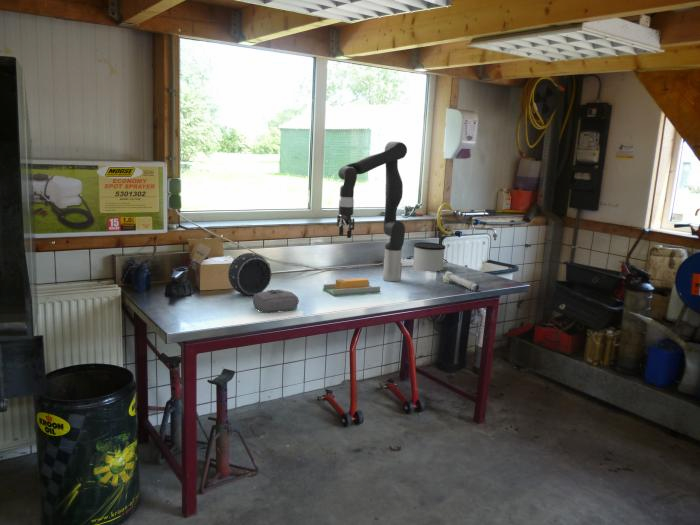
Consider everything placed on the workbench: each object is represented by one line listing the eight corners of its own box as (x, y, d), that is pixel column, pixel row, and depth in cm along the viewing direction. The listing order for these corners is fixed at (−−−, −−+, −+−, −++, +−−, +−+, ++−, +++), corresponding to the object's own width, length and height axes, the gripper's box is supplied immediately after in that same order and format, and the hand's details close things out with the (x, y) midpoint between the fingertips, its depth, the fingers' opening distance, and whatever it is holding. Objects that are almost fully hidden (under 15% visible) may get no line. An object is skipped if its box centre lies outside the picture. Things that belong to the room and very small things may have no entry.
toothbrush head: (473, 285, 313) (442, 269, 332) (471, 296, 315) (440, 280, 334) (481, 284, 316) (449, 268, 335) (478, 295, 318) (447, 279, 337)
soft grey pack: (262, 315, 252) (304, 310, 263) (262, 296, 251) (305, 292, 261) (249, 306, 265) (289, 302, 275) (249, 288, 263) (290, 284, 273)
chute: (362, 287, 307) (363, 277, 306) (368, 289, 301) (369, 280, 300) (335, 289, 299) (335, 279, 298) (340, 291, 294) (341, 282, 293)
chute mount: (367, 286, 312) (368, 281, 312) (380, 292, 301) (380, 286, 300) (322, 289, 300) (323, 284, 299) (334, 296, 289) (334, 290, 288)
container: (436, 273, 354) (438, 248, 351) (407, 268, 363) (409, 244, 360) (447, 268, 370) (449, 245, 367) (420, 264, 379) (421, 241, 376)
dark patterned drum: (273, 295, 285) (274, 254, 281) (235, 299, 273) (235, 257, 270) (263, 289, 294) (264, 250, 290) (225, 294, 282) (225, 252, 278)
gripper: (359, 207, 303) (358, 238, 306) (345, 203, 315) (344, 234, 318) (346, 207, 299) (345, 239, 303) (333, 204, 311) (332, 234, 315)
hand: (344, 236), depth 310 cm, fingers open, 8 cm apart
